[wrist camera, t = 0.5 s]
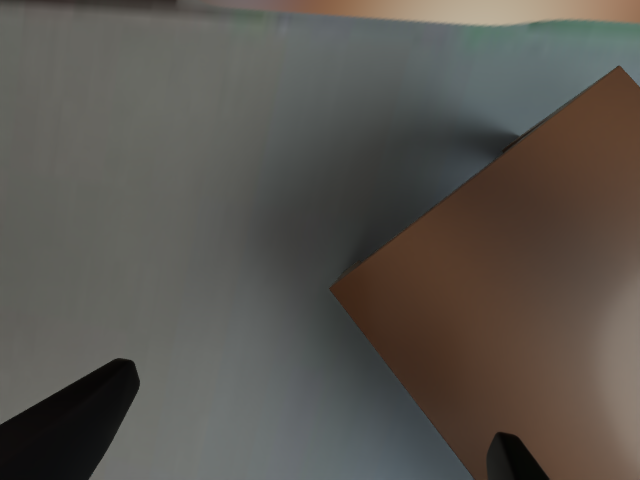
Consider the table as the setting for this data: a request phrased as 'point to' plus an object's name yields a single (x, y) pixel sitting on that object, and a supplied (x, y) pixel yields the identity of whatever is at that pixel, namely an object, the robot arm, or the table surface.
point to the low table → (525, 295)
